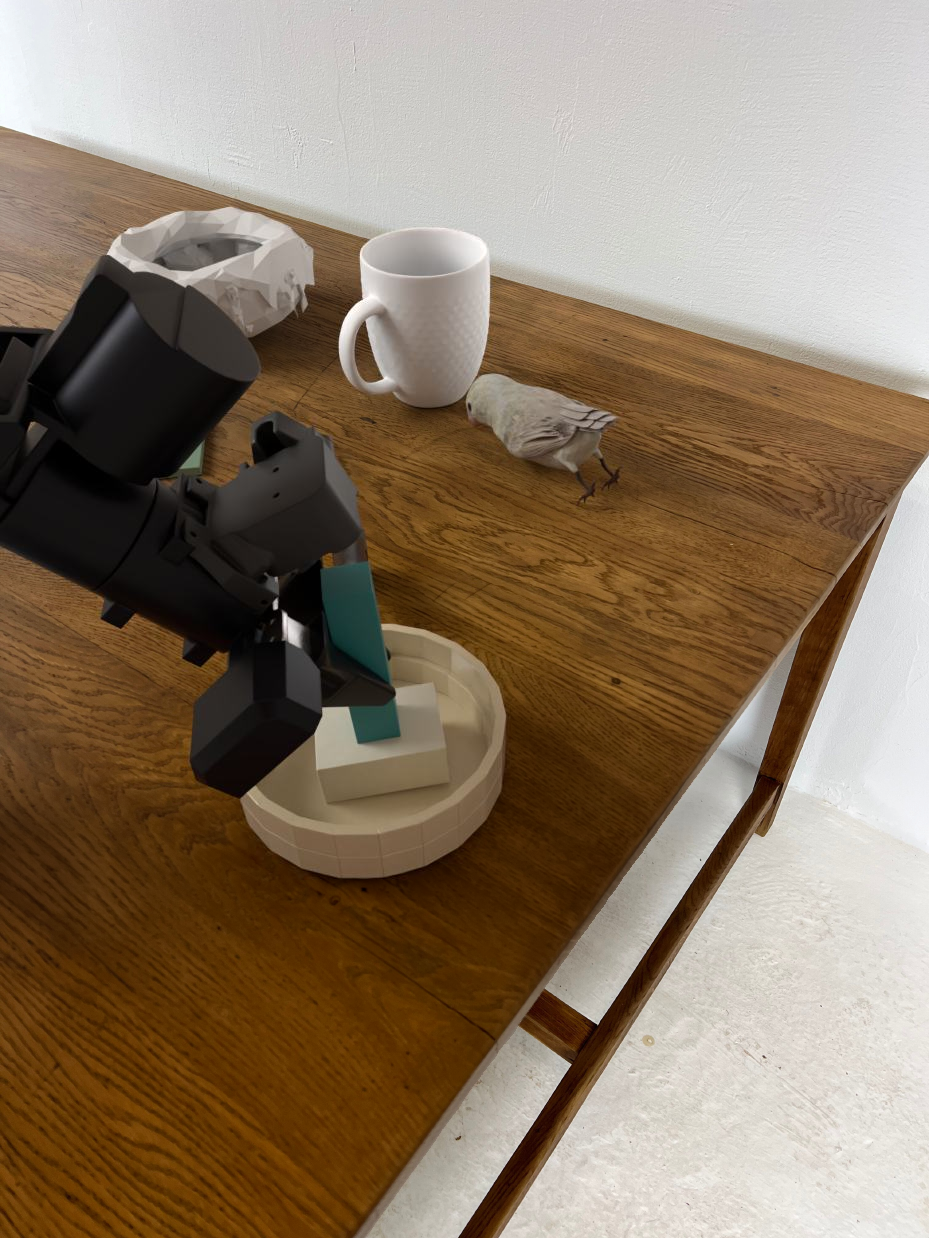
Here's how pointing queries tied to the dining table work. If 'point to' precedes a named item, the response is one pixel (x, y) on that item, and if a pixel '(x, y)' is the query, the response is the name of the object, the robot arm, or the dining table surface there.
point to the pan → (402, 820)
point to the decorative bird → (540, 424)
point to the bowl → (226, 261)
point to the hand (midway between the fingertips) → (388, 679)
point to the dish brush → (374, 735)
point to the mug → (421, 314)
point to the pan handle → (352, 552)
